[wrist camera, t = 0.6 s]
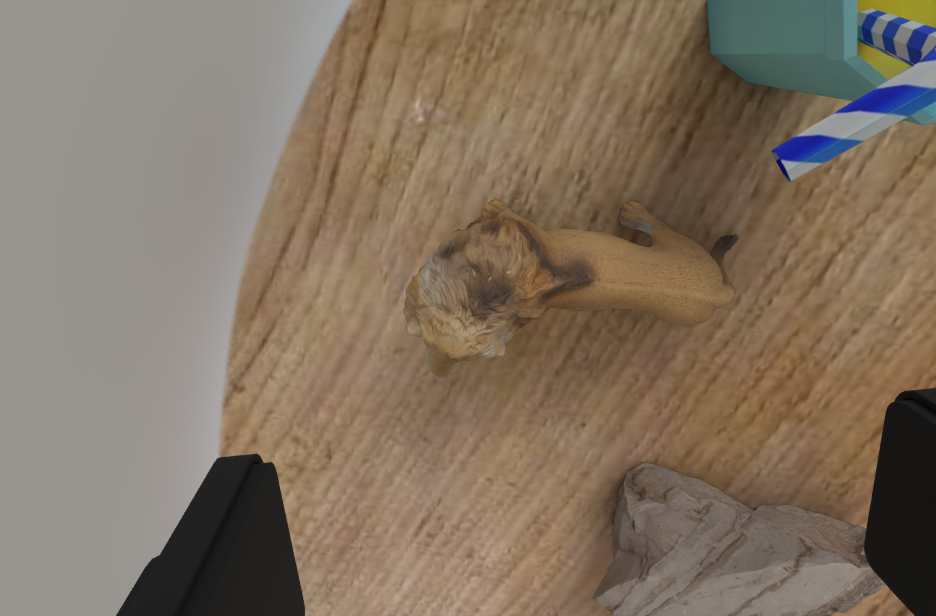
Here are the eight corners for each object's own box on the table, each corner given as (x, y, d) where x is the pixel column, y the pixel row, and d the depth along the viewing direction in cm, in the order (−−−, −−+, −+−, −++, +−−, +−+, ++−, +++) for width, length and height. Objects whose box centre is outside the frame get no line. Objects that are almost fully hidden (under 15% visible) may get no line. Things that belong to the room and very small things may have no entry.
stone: (530, 551, 34) (654, 737, 29) (552, 512, 26) (723, 754, 22) (724, 411, 38) (857, 555, 34) (790, 344, 31) (971, 518, 26)
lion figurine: (415, 318, 29) (409, 414, 20) (401, 203, 27) (388, 256, 18) (728, 286, 29) (851, 367, 20) (735, 171, 27) (872, 208, 19)
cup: (647, 204, 27) (876, 324, 13) (554, 48, 25) (714, -7, 11) (940, 7, 25) (1579, -99, 11) (869, -183, 23) (1564, -616, 9)
